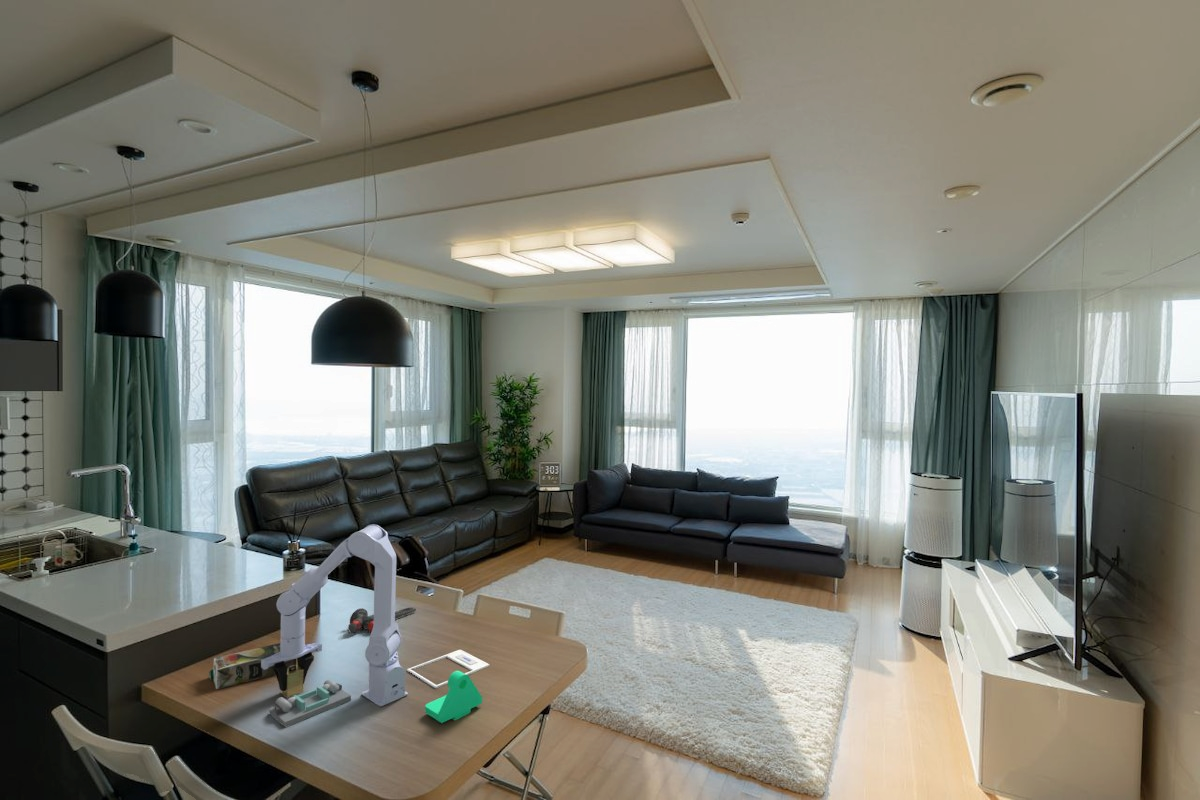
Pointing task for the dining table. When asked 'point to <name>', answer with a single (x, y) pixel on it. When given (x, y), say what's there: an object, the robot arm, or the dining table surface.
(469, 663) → the photo frame
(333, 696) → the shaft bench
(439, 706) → the camera mount
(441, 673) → the dining table surface
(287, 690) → the coupling block
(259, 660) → the juice carton
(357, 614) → the black red power tool
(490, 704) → the dining table surface
